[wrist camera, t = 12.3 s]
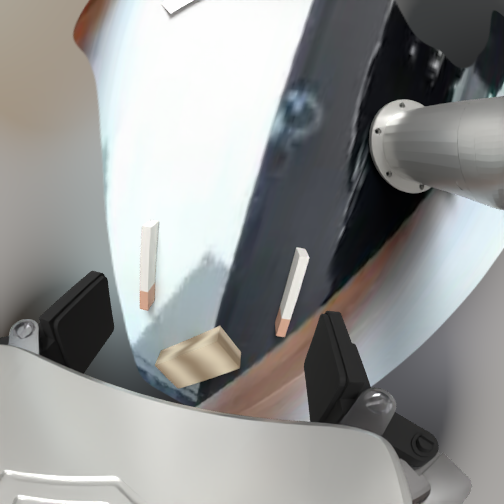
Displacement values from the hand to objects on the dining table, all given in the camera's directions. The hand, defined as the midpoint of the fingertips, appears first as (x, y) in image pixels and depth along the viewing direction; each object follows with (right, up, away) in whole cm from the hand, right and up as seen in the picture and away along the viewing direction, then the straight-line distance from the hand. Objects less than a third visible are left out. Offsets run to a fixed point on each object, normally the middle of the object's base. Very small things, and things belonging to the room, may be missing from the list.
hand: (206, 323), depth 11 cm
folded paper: (-7, +42, +11) cm, 44 cm away
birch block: (-6, -13, +31) cm, 34 cm away
